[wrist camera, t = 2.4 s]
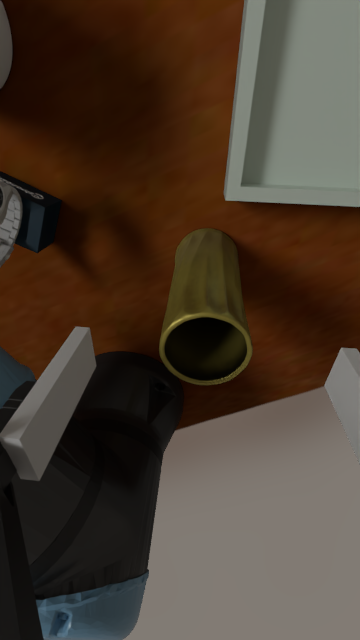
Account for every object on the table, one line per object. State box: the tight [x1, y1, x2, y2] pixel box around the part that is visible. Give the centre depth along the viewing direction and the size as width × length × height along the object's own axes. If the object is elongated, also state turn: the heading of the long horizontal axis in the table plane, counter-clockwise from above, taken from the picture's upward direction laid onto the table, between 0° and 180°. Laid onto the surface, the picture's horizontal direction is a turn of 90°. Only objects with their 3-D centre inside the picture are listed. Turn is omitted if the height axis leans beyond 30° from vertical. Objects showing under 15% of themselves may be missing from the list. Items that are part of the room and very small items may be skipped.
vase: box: [159, 228, 253, 385], centre depth 22 cm, size 6×6×14 cm
